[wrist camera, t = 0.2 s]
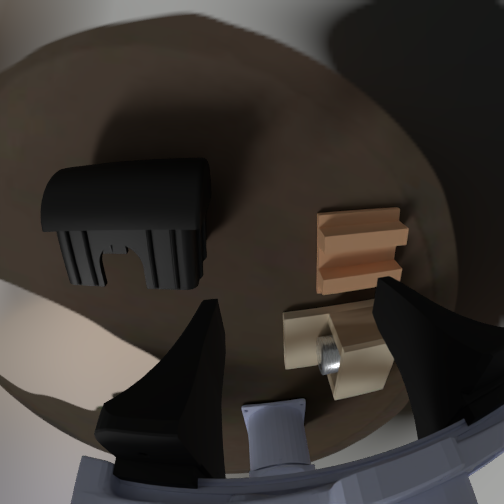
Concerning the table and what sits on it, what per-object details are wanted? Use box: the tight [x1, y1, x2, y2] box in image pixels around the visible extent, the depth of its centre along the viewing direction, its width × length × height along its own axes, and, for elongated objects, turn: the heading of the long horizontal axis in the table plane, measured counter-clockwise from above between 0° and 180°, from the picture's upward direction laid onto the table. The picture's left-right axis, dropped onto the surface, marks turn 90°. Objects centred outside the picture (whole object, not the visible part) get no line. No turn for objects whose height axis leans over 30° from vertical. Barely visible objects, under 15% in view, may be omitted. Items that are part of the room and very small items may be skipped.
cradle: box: [316, 207, 409, 295], centre depth 21 cm, size 7×7×2 cm
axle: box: [316, 335, 341, 375], centre depth 24 cm, size 10×4×4 cm, turn 96°
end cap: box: [41, 158, 211, 290], centre depth 17 cm, size 10×7×7 cm
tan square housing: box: [283, 299, 394, 400], centre depth 24 cm, size 7×9×6 cm
